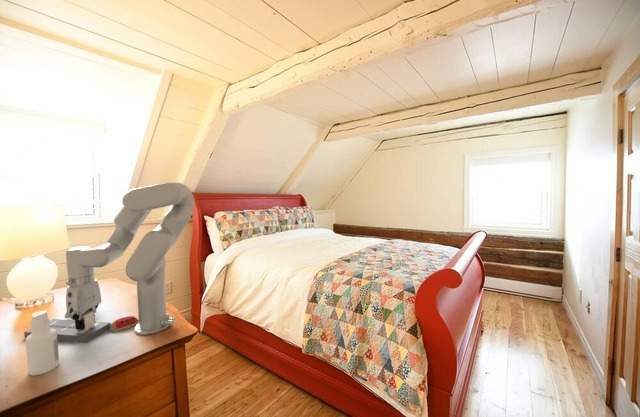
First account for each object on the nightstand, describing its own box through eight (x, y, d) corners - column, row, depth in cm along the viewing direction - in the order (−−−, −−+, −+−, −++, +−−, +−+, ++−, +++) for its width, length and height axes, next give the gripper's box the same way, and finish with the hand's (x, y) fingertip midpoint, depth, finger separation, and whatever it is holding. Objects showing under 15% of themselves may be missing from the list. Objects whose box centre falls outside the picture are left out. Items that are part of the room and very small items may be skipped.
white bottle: (65, 361, 89) (60, 307, 88) (45, 375, 82) (39, 318, 81) (43, 361, 89) (38, 308, 87) (21, 376, 82) (15, 318, 81)
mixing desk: (111, 328, 109) (110, 322, 109) (87, 342, 99) (86, 335, 99) (53, 324, 112) (52, 318, 112) (24, 338, 102) (24, 331, 102)
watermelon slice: (108, 328, 110) (108, 319, 110) (137, 320, 117) (137, 312, 116) (110, 335, 105) (109, 326, 105) (140, 326, 112) (140, 317, 111)
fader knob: (94, 325, 106) (93, 309, 106) (86, 329, 103) (84, 314, 102) (85, 324, 107) (84, 309, 106) (76, 329, 103) (75, 313, 103)
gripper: (68, 288, 95) (72, 339, 96) (110, 272, 111) (113, 316, 113) (49, 287, 95) (53, 337, 97) (93, 272, 112) (96, 315, 113)
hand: (85, 325), depth 105 cm, fingers closed on fader knob, 3 cm apart
